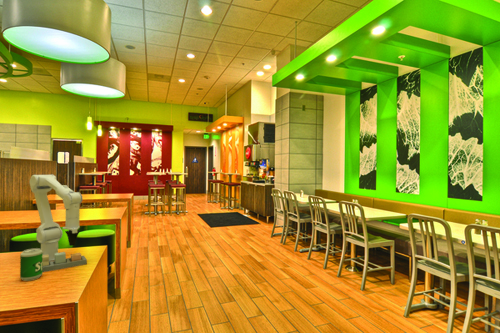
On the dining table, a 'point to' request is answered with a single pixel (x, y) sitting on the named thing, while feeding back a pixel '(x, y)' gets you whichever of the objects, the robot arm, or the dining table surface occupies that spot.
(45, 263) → the maple key
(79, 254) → the orange brown cube
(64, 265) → the button board
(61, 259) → the pale green cube
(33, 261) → the soda can
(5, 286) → the dining table surface
